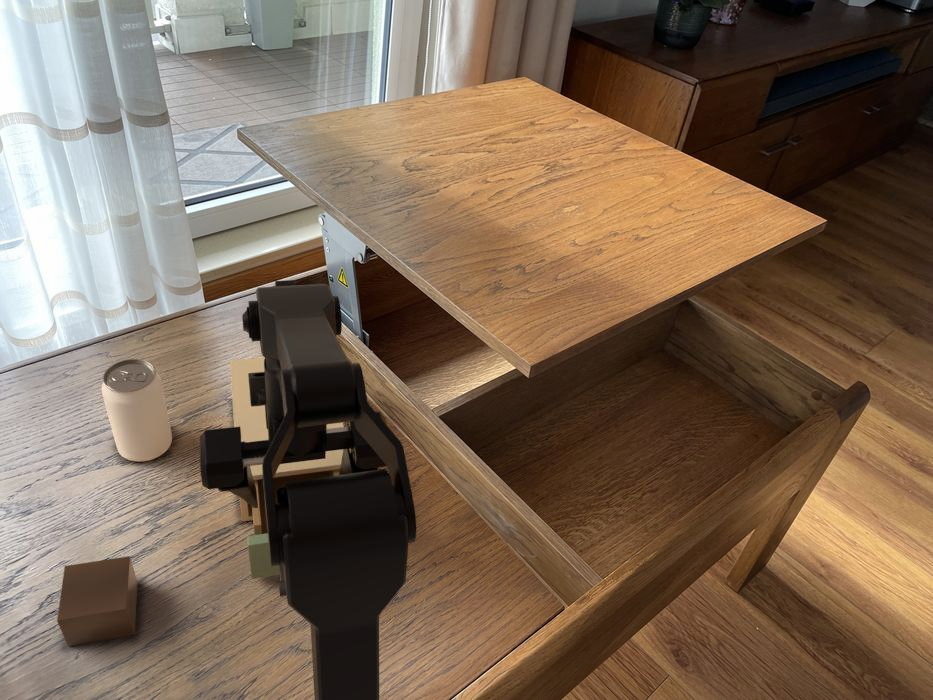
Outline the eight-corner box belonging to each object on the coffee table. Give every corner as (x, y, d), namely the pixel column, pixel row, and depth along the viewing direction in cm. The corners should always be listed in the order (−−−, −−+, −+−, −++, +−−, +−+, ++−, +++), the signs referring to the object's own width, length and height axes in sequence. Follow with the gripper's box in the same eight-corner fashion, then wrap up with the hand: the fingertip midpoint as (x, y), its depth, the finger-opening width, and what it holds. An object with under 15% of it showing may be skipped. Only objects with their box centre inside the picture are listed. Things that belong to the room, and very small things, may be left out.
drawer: (363, 600, 77) (366, 568, 73) (254, 620, 74) (250, 587, 70) (332, 440, 94) (333, 407, 90) (242, 451, 91) (239, 416, 86)
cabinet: (349, 506, 88) (351, 463, 82) (242, 521, 84) (237, 477, 79) (327, 395, 101) (328, 352, 96) (234, 404, 98) (230, 360, 92)
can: (124, 424, 92) (107, 355, 85) (177, 425, 93) (164, 357, 86) (111, 463, 87) (91, 393, 80) (167, 464, 89) (152, 395, 81)
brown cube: (134, 634, 72) (126, 608, 69) (68, 646, 70) (56, 620, 67) (137, 582, 76) (129, 555, 73) (75, 592, 75) (64, 565, 71)
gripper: (377, 336, 77) (370, 435, 87) (192, 350, 71) (207, 453, 81) (398, 409, 69) (388, 508, 79) (193, 431, 63) (209, 535, 73)
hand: (299, 498), depth 78 cm, fingers open, 9 cm apart
